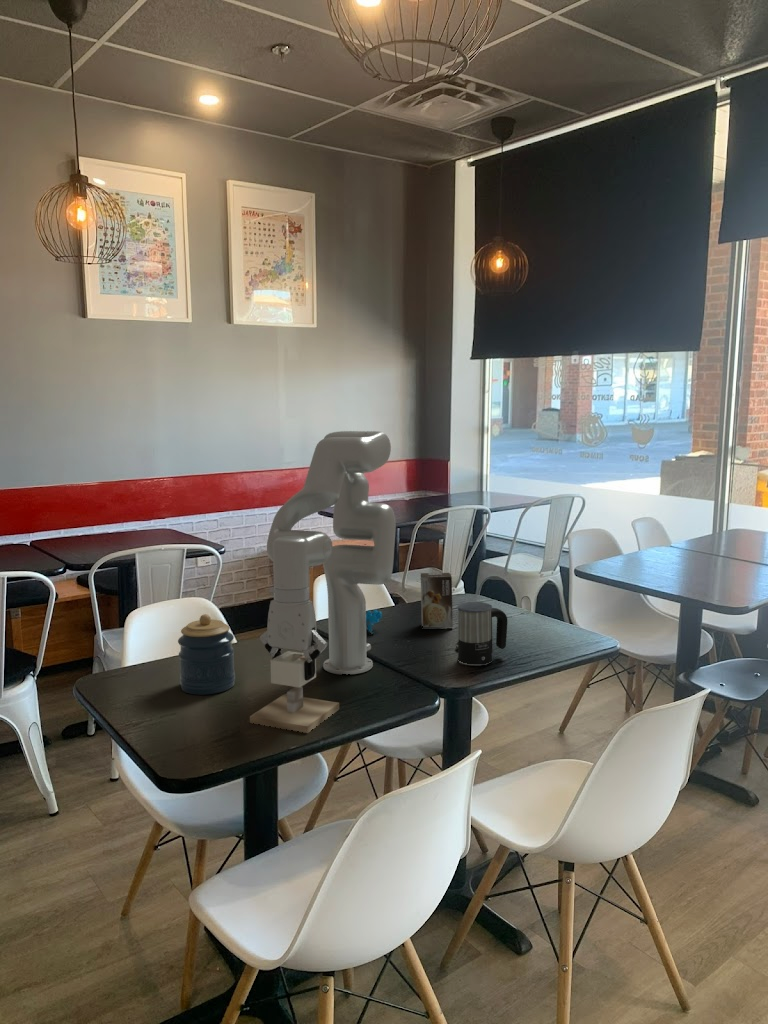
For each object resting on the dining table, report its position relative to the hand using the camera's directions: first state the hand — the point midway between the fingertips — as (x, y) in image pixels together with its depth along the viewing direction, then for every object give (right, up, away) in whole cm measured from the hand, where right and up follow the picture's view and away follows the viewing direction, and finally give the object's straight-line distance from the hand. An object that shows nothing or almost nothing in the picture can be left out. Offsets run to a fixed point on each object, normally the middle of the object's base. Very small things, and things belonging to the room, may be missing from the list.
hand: (293, 675), depth 170 cm
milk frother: (+43, -3, +40) cm, 59 cm away
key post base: (0, -9, +1) cm, 9 cm away
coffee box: (+35, 0, +68) cm, 77 cm away
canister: (-23, -7, +21) cm, 32 cm away
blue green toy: (+14, -1, +63) cm, 65 cm away
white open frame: (0, -1, 0) cm, 1 cm away
